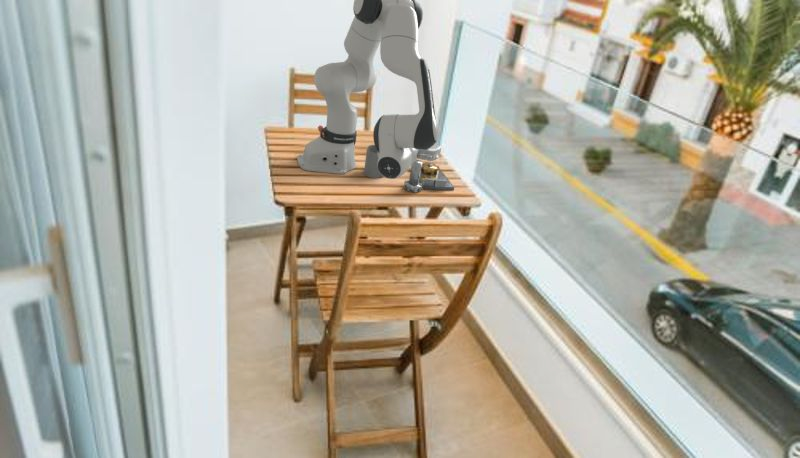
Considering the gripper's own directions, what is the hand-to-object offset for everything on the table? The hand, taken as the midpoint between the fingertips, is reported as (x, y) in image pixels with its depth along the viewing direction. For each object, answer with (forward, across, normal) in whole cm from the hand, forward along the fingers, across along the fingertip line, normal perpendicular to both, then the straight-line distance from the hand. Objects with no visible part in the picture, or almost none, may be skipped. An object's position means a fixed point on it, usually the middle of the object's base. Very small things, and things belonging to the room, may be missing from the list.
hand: (415, 141), depth 174 cm
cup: (+15, +18, +20) cm, 31 cm away
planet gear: (+11, +1, +21) cm, 24 cm away
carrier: (+23, -3, +21) cm, 31 cm away
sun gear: (+28, -1, +21) cm, 35 cm away
